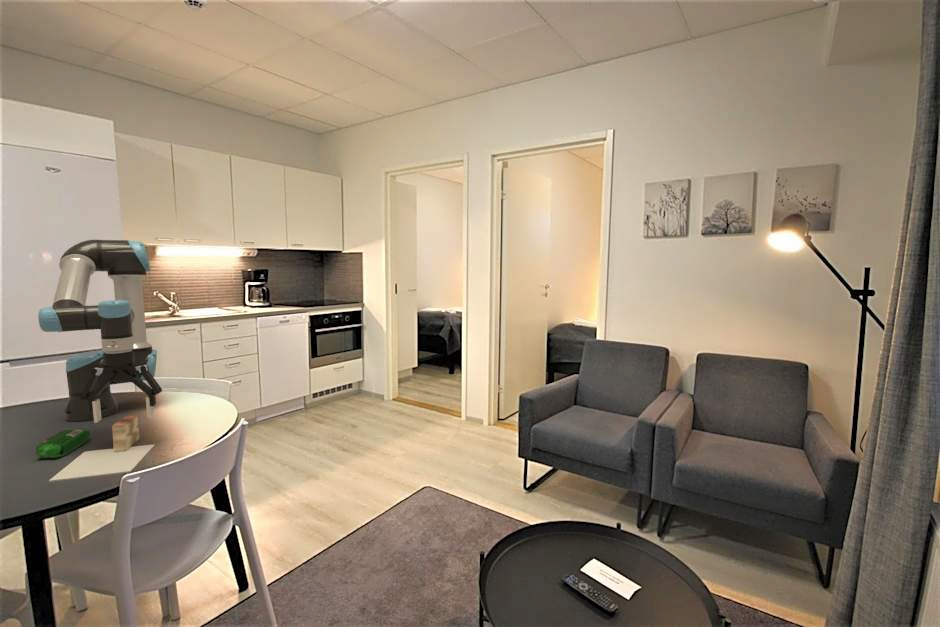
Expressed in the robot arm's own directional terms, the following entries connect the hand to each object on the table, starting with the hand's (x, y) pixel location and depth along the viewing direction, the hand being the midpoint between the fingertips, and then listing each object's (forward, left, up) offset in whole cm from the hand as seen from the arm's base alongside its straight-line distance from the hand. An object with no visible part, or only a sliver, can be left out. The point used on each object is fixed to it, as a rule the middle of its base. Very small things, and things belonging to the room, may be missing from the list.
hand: (124, 418), depth 135 cm
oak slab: (0, 0, -9) cm, 9 cm away
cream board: (+11, -1, -9) cm, 14 cm away
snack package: (-2, -17, -9) cm, 19 cm away
